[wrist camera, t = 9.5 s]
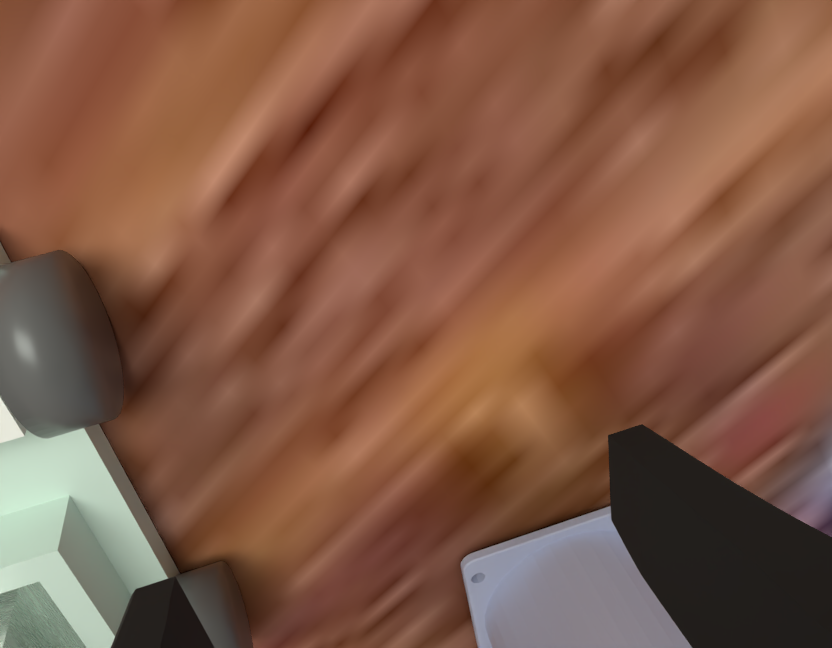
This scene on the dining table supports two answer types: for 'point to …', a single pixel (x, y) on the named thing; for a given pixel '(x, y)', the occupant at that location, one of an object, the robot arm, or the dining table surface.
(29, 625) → the grey boxy piece
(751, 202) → the dining table surface
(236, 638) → the chassis
